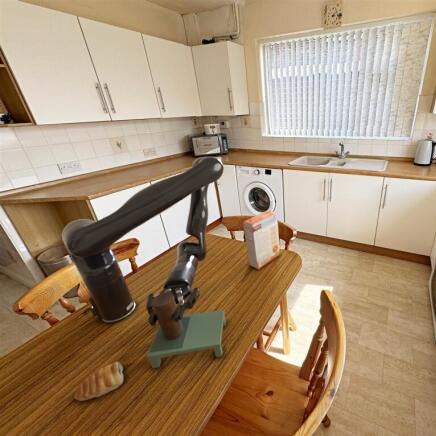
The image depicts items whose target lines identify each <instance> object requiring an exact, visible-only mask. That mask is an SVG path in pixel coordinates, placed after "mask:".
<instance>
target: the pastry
mask: <svg viewBox="0 0 436 436" xmlns="http://www.w3.org/2000/svg"><path fill="white" fill-rule="evenodd" d="M123 370H124V367H123V365H122V364H121V363H120V362H119V361H114V362H113V363H110V364H108V365H105V366H104V367H101V368H99V369H98V370H97V371H96V372H94V373H93V374H92V375H91V376H90V377H88V378H86V379H85V380H84V381H82V383H80V385H78V386H77V388H76V390H75V394H74V397H73V398H74V399H75V400H77V401H79V402H83V401H87V400H91V399H94V398H100V397H101V396H104V395H106V394H108V393H110V392H111V391H113V390H116V389H118V388H119V387H120V386H121V385H122V384H123V383H124V377H125V376H124V374H123Z"/></svg>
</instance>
